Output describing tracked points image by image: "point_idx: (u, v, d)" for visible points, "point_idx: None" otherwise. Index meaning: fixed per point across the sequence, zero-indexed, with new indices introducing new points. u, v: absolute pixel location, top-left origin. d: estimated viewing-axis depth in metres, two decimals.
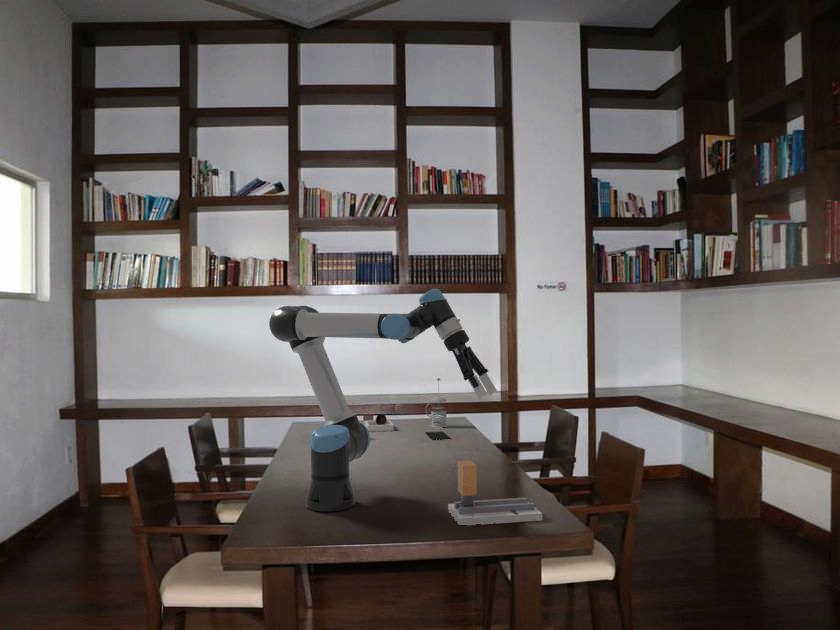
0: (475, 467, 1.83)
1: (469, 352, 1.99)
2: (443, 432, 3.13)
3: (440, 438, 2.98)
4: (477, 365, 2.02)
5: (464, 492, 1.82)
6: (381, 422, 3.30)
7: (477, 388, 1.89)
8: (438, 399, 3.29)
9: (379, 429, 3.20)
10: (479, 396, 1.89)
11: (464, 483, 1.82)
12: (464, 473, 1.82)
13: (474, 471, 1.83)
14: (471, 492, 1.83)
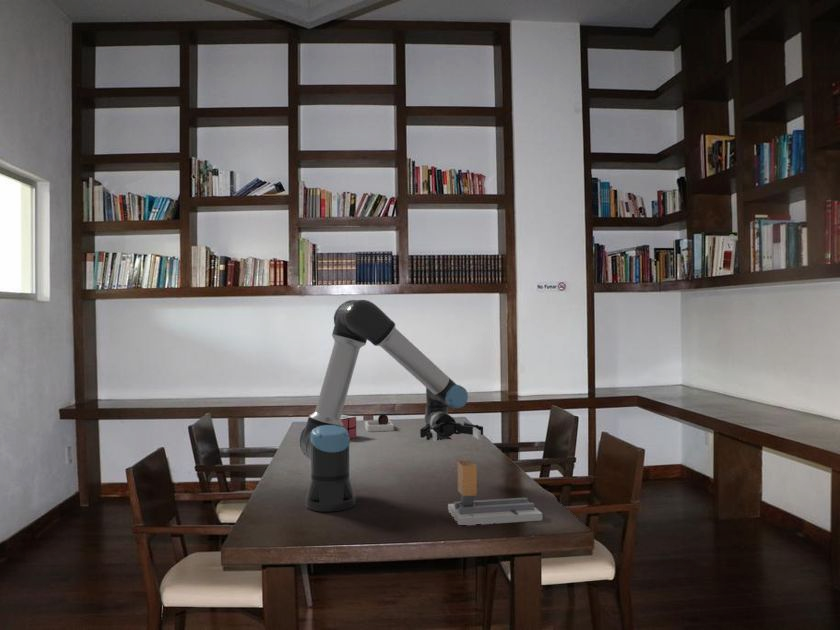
0: (475, 467, 1.83)
1: (444, 432, 2.09)
2: None
3: (440, 438, 2.98)
4: (435, 433, 2.04)
5: (464, 492, 1.82)
6: (383, 422, 3.30)
7: None
8: None
9: (379, 429, 3.20)
10: None
11: (464, 483, 1.82)
12: (464, 473, 1.82)
13: (474, 471, 1.83)
14: (471, 492, 1.83)
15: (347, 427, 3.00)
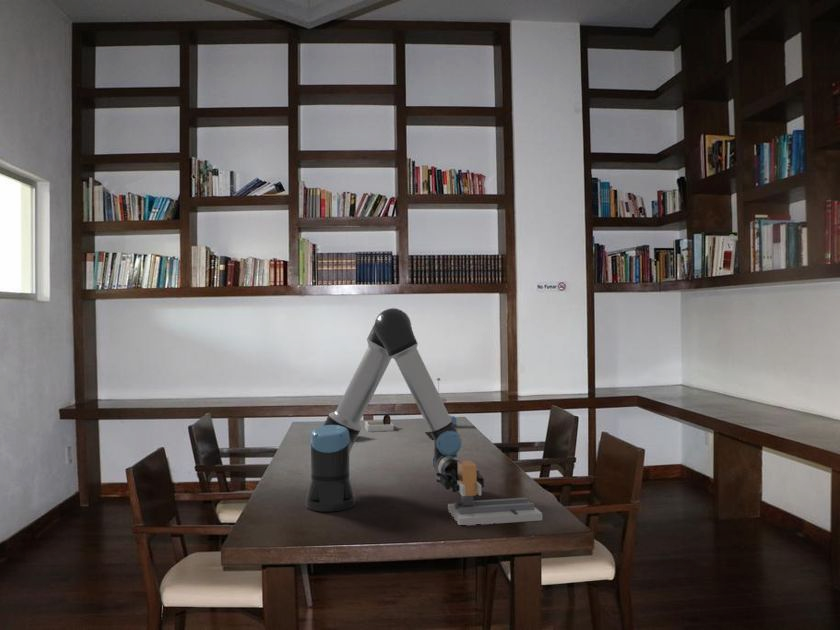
0: (475, 467, 1.83)
1: None
2: None
3: None
4: None
5: None
6: (387, 422, 3.28)
7: None
8: None
9: (379, 429, 3.20)
10: None
11: (464, 483, 1.82)
12: (464, 473, 1.82)
13: (474, 471, 1.83)
14: (471, 492, 1.83)
15: None
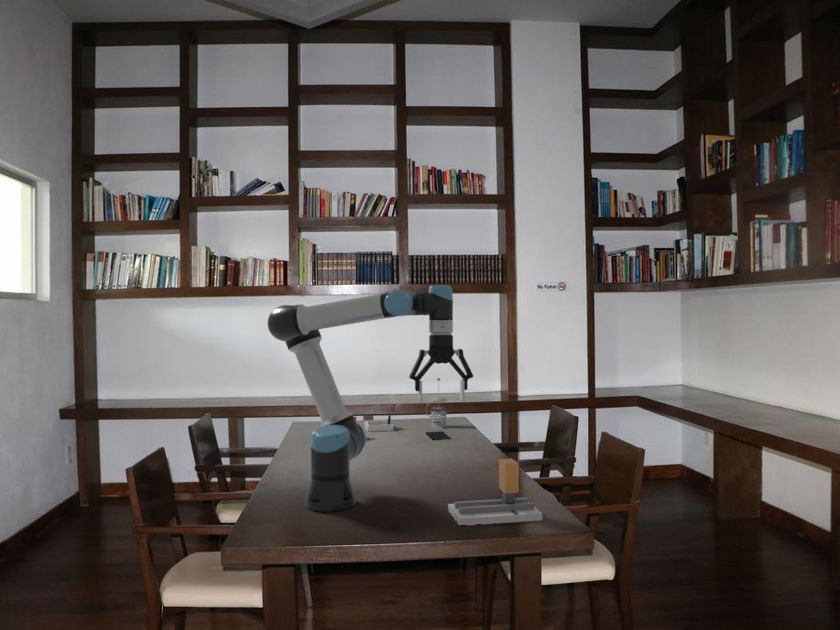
0: (517, 465, 1.85)
1: (445, 356, 2.03)
2: (443, 432, 3.13)
3: (440, 438, 2.98)
4: (456, 370, 2.05)
5: (506, 490, 1.85)
6: None
7: (418, 392, 2.03)
8: (438, 399, 3.29)
9: (379, 429, 3.20)
10: (418, 399, 2.04)
11: (506, 481, 1.85)
12: (506, 471, 1.85)
13: (516, 469, 1.85)
14: (513, 489, 1.85)
15: None
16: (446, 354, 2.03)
